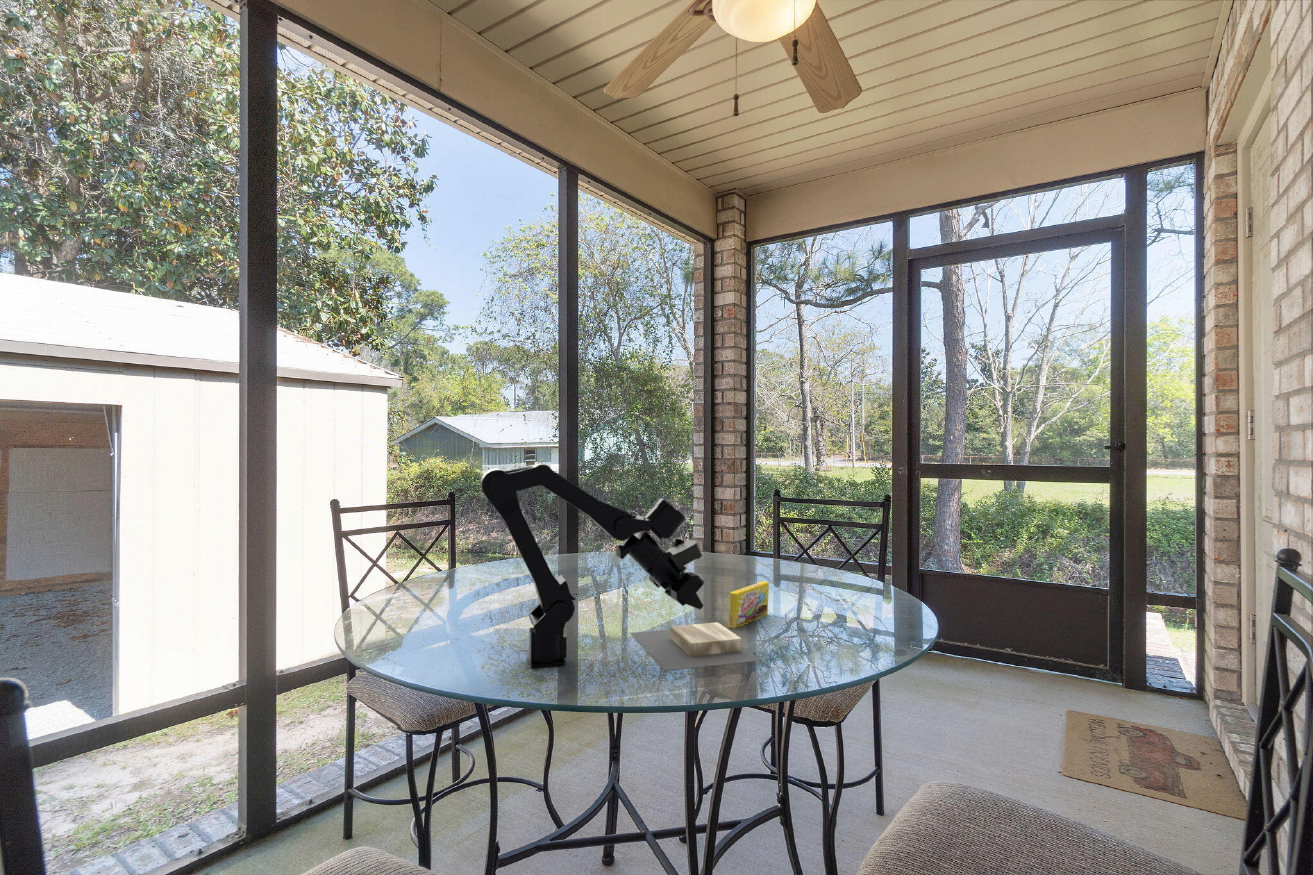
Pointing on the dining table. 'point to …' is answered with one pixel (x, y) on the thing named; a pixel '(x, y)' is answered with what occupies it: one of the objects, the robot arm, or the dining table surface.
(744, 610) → the candy box
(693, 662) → the mat
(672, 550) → the robot arm
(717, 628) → the birch tile
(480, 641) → the dining table surface
